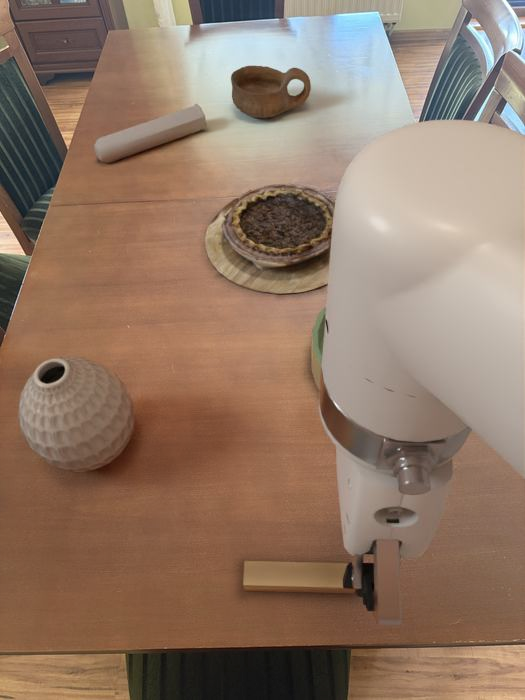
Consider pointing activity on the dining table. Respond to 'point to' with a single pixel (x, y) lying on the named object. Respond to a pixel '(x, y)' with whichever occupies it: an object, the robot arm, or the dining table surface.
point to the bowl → (267, 90)
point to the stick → (295, 577)
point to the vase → (76, 413)
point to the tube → (150, 134)
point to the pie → (274, 239)
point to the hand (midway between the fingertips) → (359, 515)
